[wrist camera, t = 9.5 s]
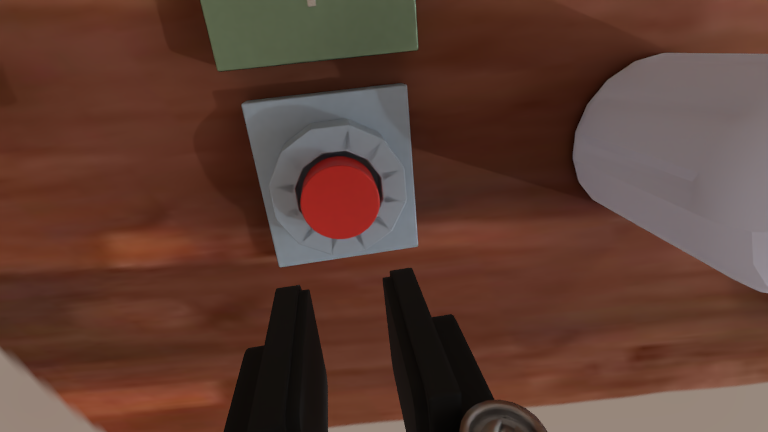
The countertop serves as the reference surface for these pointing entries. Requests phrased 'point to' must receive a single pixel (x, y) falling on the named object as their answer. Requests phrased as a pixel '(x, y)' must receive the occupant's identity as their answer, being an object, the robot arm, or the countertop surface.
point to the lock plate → (306, 30)
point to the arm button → (339, 198)
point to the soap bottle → (685, 155)
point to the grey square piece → (328, 139)
